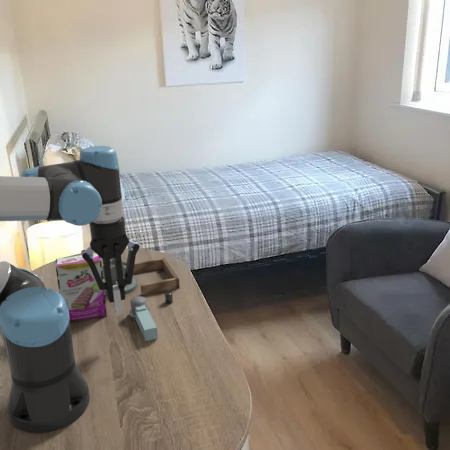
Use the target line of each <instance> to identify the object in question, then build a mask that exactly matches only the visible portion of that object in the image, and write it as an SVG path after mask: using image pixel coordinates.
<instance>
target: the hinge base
mask: <svg viewBox="0 0 450 450" xmlns="http://www.w3.org/2000/svg"><path fill="white" fill-rule="evenodd" d="M164 299H165V300H164V302H165V304H172V303H174V300H173V292H171V291H165V293H164ZM147 309H148V311H149V312H150V310H149V308H148V307H147ZM129 317H130V319H132V320H135V321H136V314H133V313H132V312H131V309H130V310H129Z"/></svg>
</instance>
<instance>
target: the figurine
mask: <svg viewBox="0 0 450 450" xmlns="http://www.w3.org/2000/svg"><path fill="white" fill-rule="evenodd" d="M121 262H122V271H123V278H125V271H126V264H127V261H123V260H122V261H121ZM110 268H111V276H112V284H113V286H114V285H118V283H117V277H116V269H115V261H114V258H111V259H110ZM102 272H103V282H105V274H104V266H103V265H102ZM137 288H138V280H137V279H136V278H135V277H133V278H132V283H131V284H129V285H126V286H125V289H124V290H125V295H127V294H129V293H133V292H134V291H135V290H137ZM104 291H105V295H107V290H104Z"/></svg>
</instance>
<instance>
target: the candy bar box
mask: <svg viewBox="0 0 450 450" xmlns="http://www.w3.org/2000/svg"><path fill="white" fill-rule="evenodd" d="M93 261H94V263H95V265H96V268H97V270H98V272H99V275H100V277H101V279H102V282H103V281H104V279H103V272H102V267H103V262H102V258H101V257H100V256H99V255H97V254H96V253H95V252H94V253H93ZM55 273H56V279H57V280H56V281H57V286H58V292H59V293H60V294H61V295H62V296H63V298H64V299H65V302H66V305H67V307H68V311H69V323H72V322H79V321H83V320H89V319H90V320H91V319H96V318H102V317H107V316H108V312H107V303H106V301H107V300H106V294H105V291H104V290H100V289H99V287H98V285H97V282H96V280H95V278H94V275H93V273H92V271H91V269H90V266H89V264H88V263H87V262H86V261H85V260H84V259H83V258H82V255H75V256H74V255H73V256H72V255H71V256H65V257H55Z"/></svg>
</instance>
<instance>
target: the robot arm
mask: <svg viewBox="0 0 450 450" xmlns="http://www.w3.org/2000/svg"><path fill="white" fill-rule="evenodd" d="M120 177H121V175H120V165H119V160H118V155H117V151H116V150H115V149H114V148H113V147H111V146H108V145H93V146H89V147H84V148H82V149H80V151H79V159H77V160H73V161H68V162H61V163H55V164H49V165H43V166H41V165H38V166H36V167H32V168H27V169H24V170H23V171H22V172H21V175H20V176H9V175H8V176H7V175H6V176H3V175H2V176H0V222H23V221H24V222H28V221H29V222H30V221H64V222H66V223H68V224H71V225H74V226H78V227H79V226H80V227H81V226H87V225H89V229H90V238H91V239H90V241H89V246H88V247H87V248H86V249H83V250H81V252H80V254H81V255H82V258H83V259H84V260H85V261H86V262H87V263H88V264H89V266H90V269H91V271H92V273H93V275H94V278H95V280H96V282H97V285H98V287H99V289H100V290H107V294H106V295H107V299H108V302H109V303H110V304H111V303H113V305H112V306H113V310H114V313H115V315H116V317H118V316H122V315H124V313H123V305H122V301H124V300H126V294H125V290H124V289H125V286H126V285H129V284H131V283H132V278H134V277H133V276H134V273H133V271H134V264H135V263H136V256H137V253H138V251H139V250H140V246H141V245H140V244H139V243H138V242H137V241H136V240H130V238H129V237H128V234H127V231H126V230H127V229H126V221H125V220H126V219H125V216H124V215H125V211H124V205H123V196H122V186H121V178H120ZM126 249H127V250H128V252H127V256H126V258H127V259H126V263H127V264H126V266H125V267H126V271H125V278H123V271H122V262H123V260H122V255H123V253H125V250H126ZM95 253H96V254H97V255H99V256H100V257H101V260H102V267H103V266H104V274H105V279H104V280H105V282H102V279H101V277H100V275H99V272H98V270H97V268H96V265H95V263H94V261H93V254H95ZM111 258H114V261H115V269H116V277H117V283H118V285H114V286H113V284H112V276H111V268H110V261H111V260H112V259H111ZM121 261H122V262H121ZM71 330H72V329H71V322H69V311H68V307H67V305H66V302H65V299H64V298H63V296H62V295H61V294H60V293H59V291H57V290H55V289H53V288H48V289H47V287H46V286H45V284H44V282H43V281H42V279H41V278H40V277H39V276H37V275H36V274H35V273H34V272H32V271H30V270H28V269H25V268H21V267H17V266H15V265H13V264H11V263H10V262H8V261H5V260H4V261H0V339H1V340H2V342H3V346H4V348H5V353H6V357H7V362H8V367H9V372H10V376H11V385H10V390H9V395H8V400H7V401H8V402H7V413H8V417H9V418H8V419H9V422H10V423H11V425H12V426H13V427H14V428H16V429H18V430H19V431H22V432H25V433H29V434H30V433H31V434H39V433H47V432H53V431H56V430H58V429H61V428H64V427H65V426H68V425H70V424H71V423H73V422H74V421H76V420H78V418H80V417H81V416H82V414H84V412H85V411H86V409H88V406H89V404H90V400H91V399H90V397H91V396H90V389H89V385H88V383H87V381H86V379H85V377H84V376H83V374H82V373H81V371H80V369H79V368H78V366H77V363H76V358H75V351H74V345H73V338H72V337H73V336H72V331H71Z"/></svg>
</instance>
